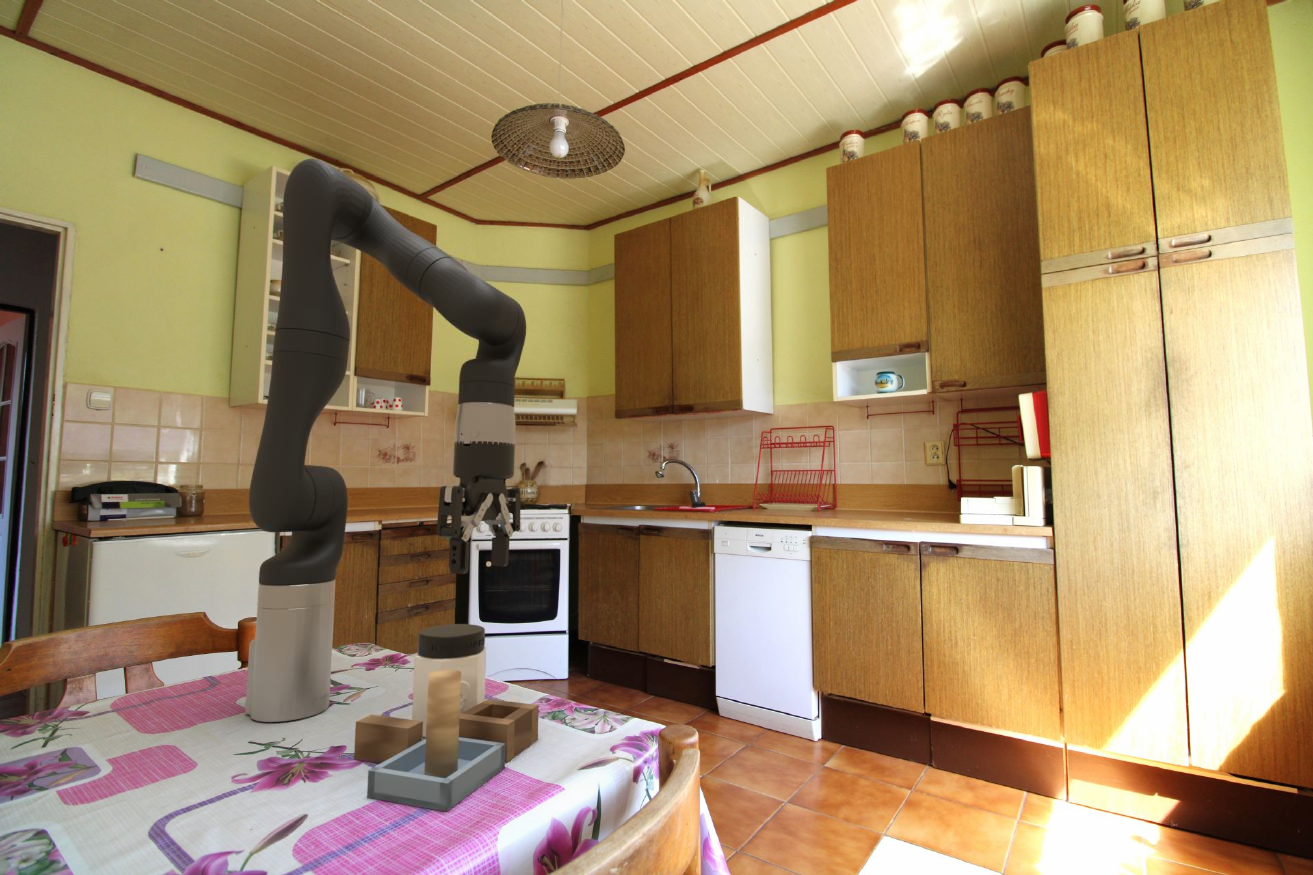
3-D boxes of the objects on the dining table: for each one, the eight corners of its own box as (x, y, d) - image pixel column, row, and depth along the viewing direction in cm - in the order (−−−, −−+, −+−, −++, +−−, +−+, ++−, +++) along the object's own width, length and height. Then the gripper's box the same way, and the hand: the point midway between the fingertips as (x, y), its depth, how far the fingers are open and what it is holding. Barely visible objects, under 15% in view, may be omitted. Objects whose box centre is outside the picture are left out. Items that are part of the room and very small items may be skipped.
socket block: (451, 754, 71) (453, 717, 71) (486, 732, 78) (487, 699, 78) (506, 762, 69) (507, 724, 69) (537, 739, 75) (538, 704, 76)
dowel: (417, 779, 63) (421, 676, 64) (437, 766, 66) (441, 668, 67) (444, 784, 62) (448, 679, 63) (463, 771, 65) (467, 671, 66)
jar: (419, 746, 73) (423, 640, 74) (404, 725, 80) (408, 628, 81) (494, 730, 78) (497, 631, 79) (474, 712, 85) (477, 621, 86)
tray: (367, 797, 61) (368, 770, 61) (433, 756, 70) (434, 733, 70) (446, 811, 58) (447, 783, 58) (504, 767, 67) (505, 743, 68)
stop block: (354, 758, 70) (355, 721, 70) (370, 750, 72) (371, 714, 72) (406, 767, 68) (408, 728, 68) (421, 758, 70) (422, 721, 70)
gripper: (492, 446, 89) (488, 562, 87) (423, 436, 76) (416, 574, 74) (539, 445, 86) (535, 565, 85) (476, 435, 73) (470, 577, 72)
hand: (480, 569), depth 80 cm, fingers open, 8 cm apart
